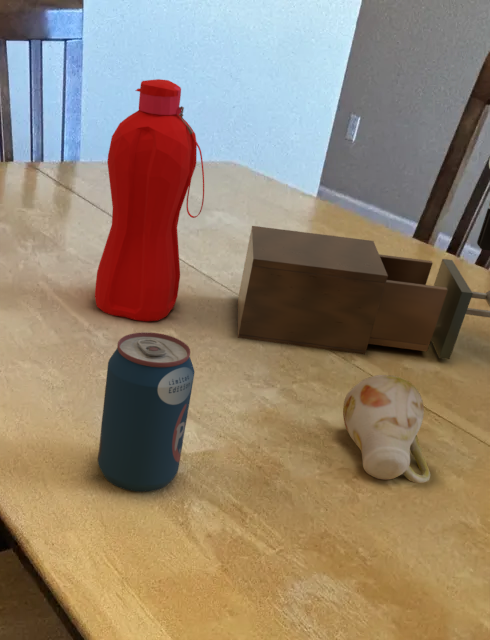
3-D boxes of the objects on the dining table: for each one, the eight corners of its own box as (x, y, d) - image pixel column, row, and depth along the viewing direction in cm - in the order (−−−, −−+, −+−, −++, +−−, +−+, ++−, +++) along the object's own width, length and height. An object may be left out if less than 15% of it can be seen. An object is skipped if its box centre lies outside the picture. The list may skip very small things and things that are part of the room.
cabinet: (352, 317, 110) (373, 240, 104) (364, 357, 100) (388, 275, 94) (237, 302, 111) (251, 225, 105) (237, 340, 101) (253, 258, 95)
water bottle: (174, 333, 101) (210, 96, 86) (86, 314, 104) (105, 80, 89) (194, 307, 108) (230, 83, 94) (111, 290, 111) (133, 69, 96)
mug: (344, 489, 77) (343, 374, 76) (343, 482, 86) (342, 379, 85) (435, 486, 75) (436, 368, 74) (424, 480, 84) (424, 375, 83)
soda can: (188, 494, 74) (212, 363, 67) (110, 502, 72) (126, 368, 65) (159, 452, 79) (178, 327, 72) (86, 458, 77) (98, 330, 70)
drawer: (478, 328, 108) (501, 265, 103) (500, 366, 99) (526, 300, 94) (322, 307, 109) (338, 245, 105) (330, 343, 100) (348, 277, 96)
